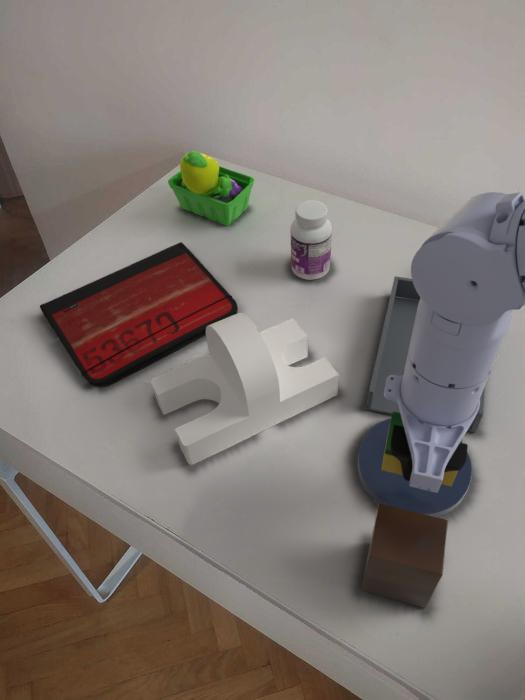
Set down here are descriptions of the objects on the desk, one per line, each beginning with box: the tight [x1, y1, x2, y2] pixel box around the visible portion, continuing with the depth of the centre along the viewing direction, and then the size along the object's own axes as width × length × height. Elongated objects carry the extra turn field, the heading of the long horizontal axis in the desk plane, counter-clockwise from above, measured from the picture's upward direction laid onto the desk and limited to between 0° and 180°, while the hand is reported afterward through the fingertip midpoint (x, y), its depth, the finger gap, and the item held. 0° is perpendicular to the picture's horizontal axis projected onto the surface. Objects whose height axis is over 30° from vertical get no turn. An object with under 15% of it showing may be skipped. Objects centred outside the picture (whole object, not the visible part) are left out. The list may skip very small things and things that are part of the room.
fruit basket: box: [167, 150, 255, 227], centre depth 84 cm, size 11×9×11 cm
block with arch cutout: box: [150, 312, 340, 466], centre depth 60 cm, size 18×10×11 cm, turn 118°
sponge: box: [381, 412, 464, 486], centre depth 50 cm, size 4×6×4 cm, turn 73°
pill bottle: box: [290, 199, 333, 281], centre depth 75 cm, size 5×5×10 cm
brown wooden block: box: [361, 503, 449, 609], centre depth 48 cm, size 4×6×8 cm
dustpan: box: [365, 275, 486, 434], centre depth 68 cm, size 25×12×3 cm, turn 163°
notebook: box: [39, 241, 239, 388], centre depth 73 cm, size 16×2×21 cm
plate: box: [357, 417, 473, 518], centre depth 57 cm, size 11×11×1 cm
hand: (419, 456), depth 51 cm, fingers closed on sponge, 4 cm apart
